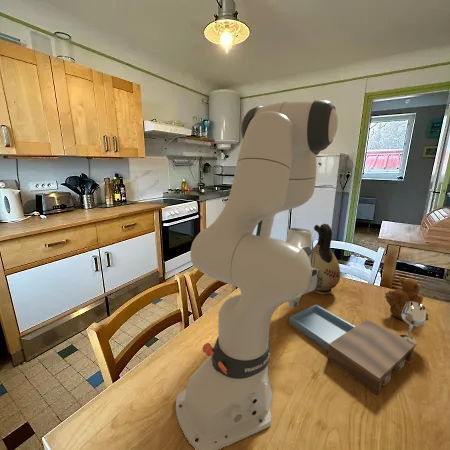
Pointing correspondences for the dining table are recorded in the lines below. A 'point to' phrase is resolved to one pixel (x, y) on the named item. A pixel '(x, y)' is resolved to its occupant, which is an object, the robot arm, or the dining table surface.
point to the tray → (320, 325)
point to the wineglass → (413, 317)
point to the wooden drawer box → (370, 354)
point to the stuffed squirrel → (404, 296)
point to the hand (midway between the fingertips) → (293, 306)
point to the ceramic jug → (325, 261)
